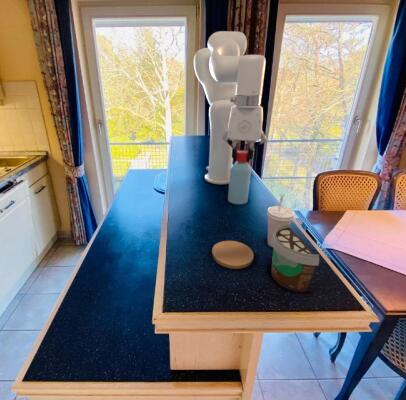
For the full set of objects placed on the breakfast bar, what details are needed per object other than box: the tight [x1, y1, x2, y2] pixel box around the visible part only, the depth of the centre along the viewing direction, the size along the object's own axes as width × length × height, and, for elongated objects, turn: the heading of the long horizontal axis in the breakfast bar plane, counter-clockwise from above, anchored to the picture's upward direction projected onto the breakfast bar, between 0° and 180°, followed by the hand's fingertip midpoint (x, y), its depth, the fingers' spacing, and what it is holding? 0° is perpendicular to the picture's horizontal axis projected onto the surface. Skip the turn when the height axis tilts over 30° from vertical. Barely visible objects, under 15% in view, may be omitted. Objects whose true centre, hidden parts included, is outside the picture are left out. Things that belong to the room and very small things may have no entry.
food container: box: [270, 224, 320, 293], centre depth 56 cm, size 12×6×10 cm, turn 4°
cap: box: [235, 149, 248, 163], centre depth 87 cm, size 4×4×3 cm
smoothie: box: [266, 194, 295, 248], centre depth 66 cm, size 6×6×14 cm
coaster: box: [211, 240, 255, 270], centre depth 65 cm, size 10×10×1 cm
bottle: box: [227, 161, 252, 205], centre depth 90 cm, size 7×7×17 cm
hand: (241, 159), depth 87 cm, fingers closed on cap, 3 cm apart
